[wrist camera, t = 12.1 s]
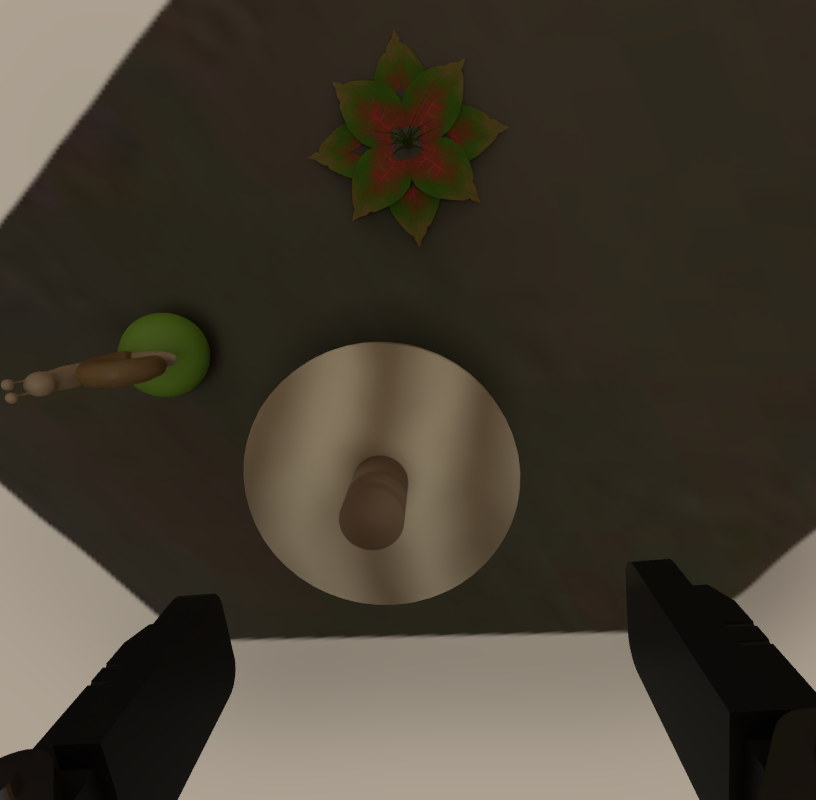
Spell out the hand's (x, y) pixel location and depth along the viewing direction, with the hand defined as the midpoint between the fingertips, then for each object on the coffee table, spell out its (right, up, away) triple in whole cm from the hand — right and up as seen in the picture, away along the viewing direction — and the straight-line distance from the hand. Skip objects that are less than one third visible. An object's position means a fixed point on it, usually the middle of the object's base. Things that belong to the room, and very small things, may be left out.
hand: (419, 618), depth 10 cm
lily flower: (0, +21, +24) cm, 31 cm away
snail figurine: (-16, +8, +27) cm, 32 cm away
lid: (-2, 0, +21) cm, 21 cm away
